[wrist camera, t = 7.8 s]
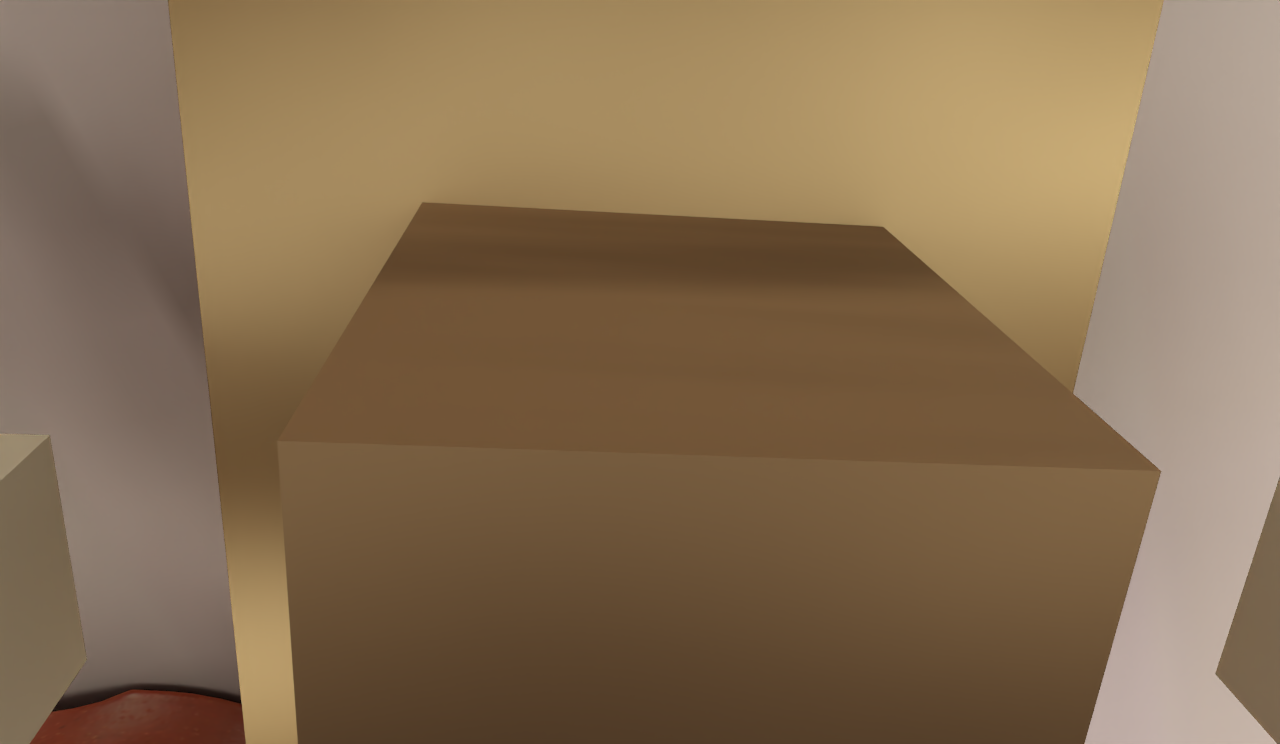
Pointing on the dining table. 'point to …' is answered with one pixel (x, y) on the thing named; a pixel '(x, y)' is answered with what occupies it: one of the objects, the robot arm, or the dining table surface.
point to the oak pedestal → (619, 172)
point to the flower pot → (147, 721)
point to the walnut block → (693, 497)
